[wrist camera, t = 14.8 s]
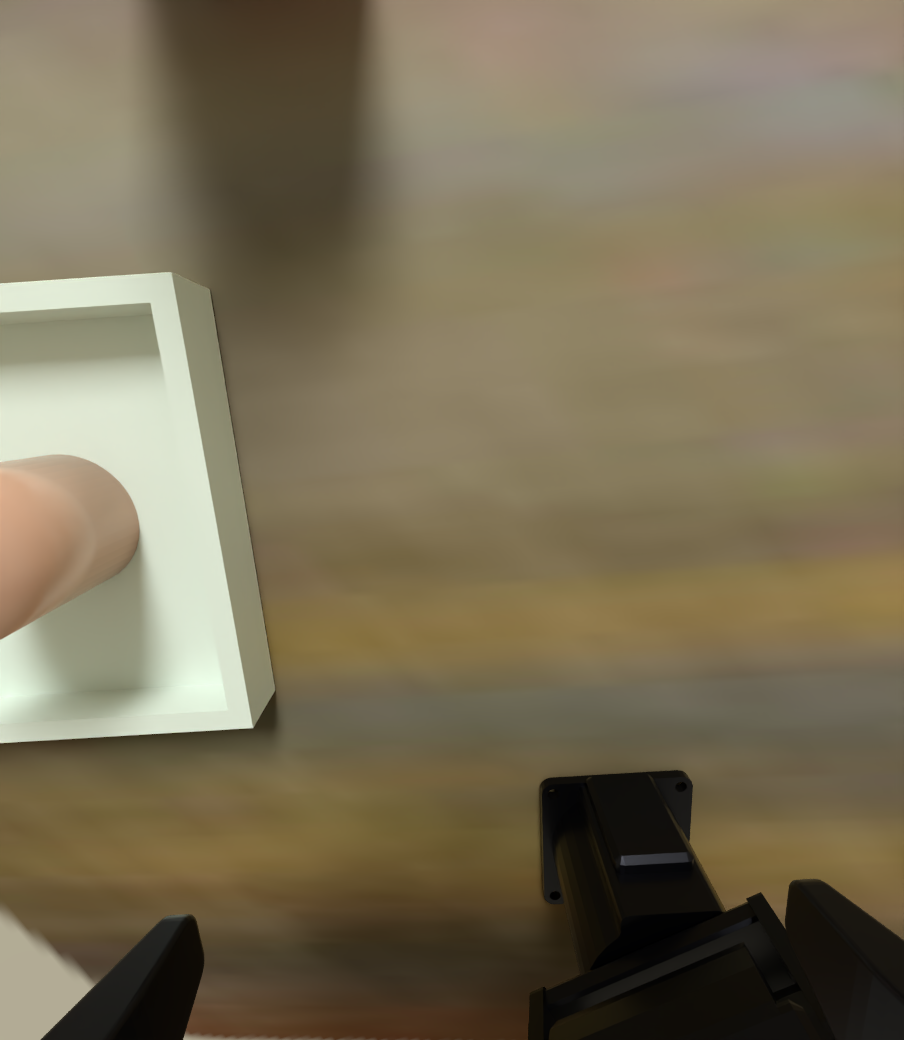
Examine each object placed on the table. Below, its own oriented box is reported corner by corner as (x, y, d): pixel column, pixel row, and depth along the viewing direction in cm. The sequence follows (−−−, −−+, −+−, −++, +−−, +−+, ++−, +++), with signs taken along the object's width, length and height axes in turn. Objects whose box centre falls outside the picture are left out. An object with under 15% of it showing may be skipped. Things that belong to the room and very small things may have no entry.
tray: (275, 690, 21) (252, 727, 19) (-23, 708, 21) (-83, 747, 19) (209, 289, 18) (171, 271, 15) (-150, 313, 18) (-245, 300, 15)
